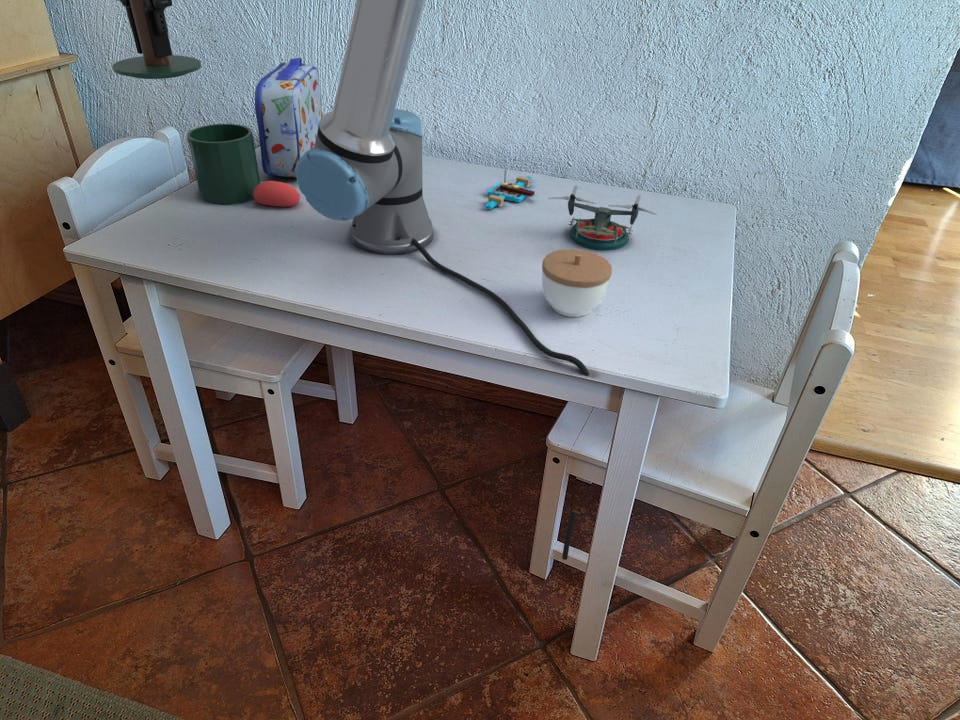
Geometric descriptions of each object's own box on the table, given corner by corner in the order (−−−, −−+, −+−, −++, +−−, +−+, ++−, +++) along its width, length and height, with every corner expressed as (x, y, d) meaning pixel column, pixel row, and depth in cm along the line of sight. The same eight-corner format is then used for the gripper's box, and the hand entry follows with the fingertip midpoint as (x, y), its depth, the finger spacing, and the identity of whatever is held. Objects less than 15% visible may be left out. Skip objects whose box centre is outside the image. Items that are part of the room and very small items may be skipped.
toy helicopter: (653, 233, 129) (661, 192, 124) (646, 268, 117) (655, 225, 112) (554, 217, 133) (558, 178, 128) (537, 250, 121) (541, 207, 116)
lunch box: (288, 144, 163) (275, 48, 150) (329, 145, 164) (320, 50, 151) (259, 185, 141) (241, 77, 128) (308, 187, 141) (295, 79, 128)
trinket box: (598, 291, 110) (606, 240, 104) (610, 326, 101) (620, 272, 96) (534, 289, 109) (540, 238, 104) (541, 325, 101) (547, 271, 95)
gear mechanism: (551, 186, 147) (514, 177, 151) (553, 162, 144) (515, 154, 148) (511, 216, 133) (471, 206, 136) (513, 191, 130) (472, 181, 133)
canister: (273, 190, 139) (264, 131, 132) (229, 209, 131) (216, 147, 123) (233, 178, 144) (222, 120, 137) (187, 195, 136) (173, 134, 128)
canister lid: (219, 70, 108) (205, -6, 102) (149, 86, 99) (128, 3, 93) (167, 59, 114) (151, -15, 107) (96, 72, 105) (73, -7, 98)
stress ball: (283, 221, 130) (295, 192, 128) (243, 198, 130) (255, 169, 128) (294, 219, 135) (306, 191, 133) (256, 197, 135) (267, 169, 133)
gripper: (174, -125, 90) (209, 58, 104) (100, -129, 97) (142, 43, 111) (124, -127, 85) (168, 66, 99) (51, -131, 92) (101, 50, 106)
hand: (155, 53), depth 105 cm, fingers closed on canister lid, 4 cm apart
